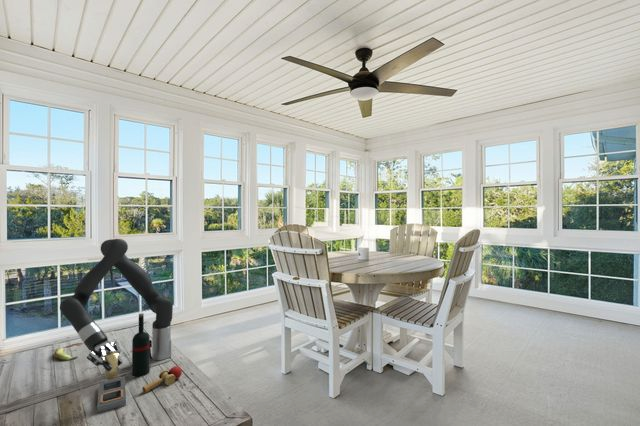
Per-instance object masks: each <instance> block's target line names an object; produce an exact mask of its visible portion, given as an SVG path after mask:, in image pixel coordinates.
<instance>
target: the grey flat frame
mask: <svg viewBox="0 0 640 426" xmlns="http://www.w3.org/2000/svg"><path fill="white" fill-rule="evenodd" d="M126 395H127V393H126V377H125V376H122V377H116V378H115V379H111V380H104V381H100V382H99V385H98V396H97V403H96V405H97V406H96V413H97V414H100V413H103V412H107V411H111V410H114V409H118V408H121V407H125V406H127V396H126Z"/></svg>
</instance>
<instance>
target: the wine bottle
mask: <svg viewBox="0 0 640 426" xmlns="http://www.w3.org/2000/svg"><path fill="white" fill-rule="evenodd" d="M144 315H145V314H144V313H138V332H137V333H135V334H134V336H133V337H132V340H131V344H132V345H131V346H132V347H131V348H132V349H131V351H132V352H131V376H132V377H133V376H134V378H139V377H140V376H141V377H145V376H146V375H148V374H149V373H150V371H151V370H150V369H151V368H150V367H151V364H150V363H151V362H150V361H151V360H153V359H152V339H151V338H150V335H149V333H147V332H146V331H144V329H145V328H144V327H145V326H144V323H145V322H144V320H145V319H144V318H145V316H144ZM150 359H151V360H150Z"/></svg>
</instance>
